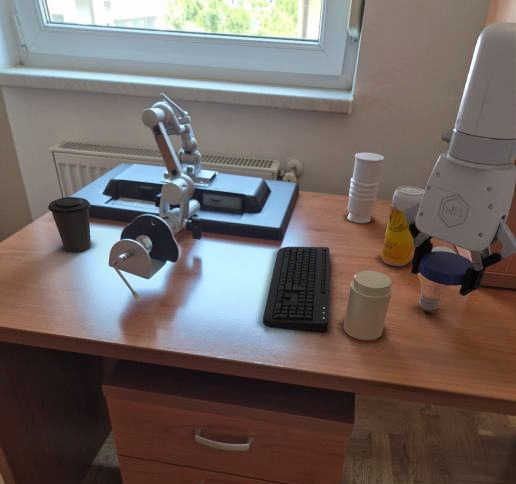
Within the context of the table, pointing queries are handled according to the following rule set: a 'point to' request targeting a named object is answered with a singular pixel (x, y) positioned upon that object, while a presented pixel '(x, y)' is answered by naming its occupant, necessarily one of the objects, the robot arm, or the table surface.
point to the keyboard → (299, 290)
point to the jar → (367, 305)
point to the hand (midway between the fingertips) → (442, 280)
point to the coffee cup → (72, 222)
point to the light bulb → (432, 288)
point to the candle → (364, 186)
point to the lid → (444, 267)
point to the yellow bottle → (400, 227)
